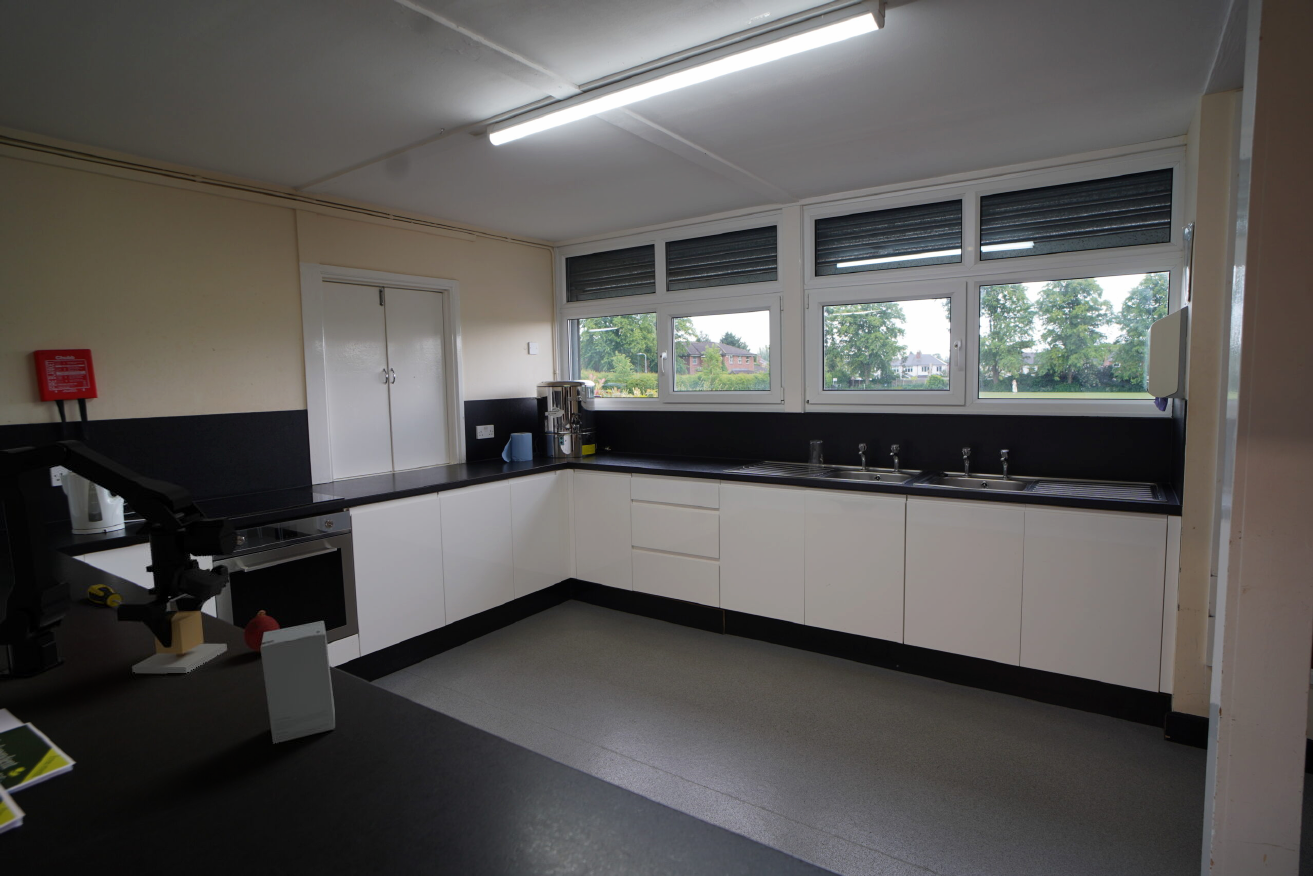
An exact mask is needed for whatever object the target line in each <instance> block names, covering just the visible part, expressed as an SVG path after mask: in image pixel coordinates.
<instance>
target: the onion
mask: <svg viewBox="0 0 1313 876" xmlns="http://www.w3.org/2000/svg"><path fill="white" fill-rule="evenodd" d="M279 629H281V628H280V625H279V623H278V621H277V620H276V619H274V618H273V617H272V616H269V615H266V611H265V610H260V611H258V612H257V614H256V615H255V617H254V618H252V619H251V620H250V621H249V622H248V624H247V625H246V627H245V628H244V633H243V639H244V640H243V641H244V643H245V645H246V646H247V647H248V648H249V649H251V650H253V651H255V652H258V653H261V649H260V647H261V644H262V640H263V634H264V632H268V631H274V630H279Z"/></svg>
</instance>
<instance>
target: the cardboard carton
mask: <svg viewBox="0 0 1313 876" xmlns="http://www.w3.org/2000/svg"><path fill="white" fill-rule="evenodd" d="M176 611H177V613H176V614H175V615H174V616H173V618H172V619H171V625H172V644H171V647H169V648H165V647H164V646H163V645H162V644H161V643H160V641H159V640H158V639H157V638H156V636H155V635H154V643H155V650H156V651H155V652H156V653H155V654H157V653H168V654H183V653H185V652H187V651H189V650H191V649H192V648H194V647H196V646H198V645H200V644H204V643H205V642H204V632H203V621H202V610H201V611H178V610H176Z"/></svg>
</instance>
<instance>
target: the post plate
mask: <svg viewBox="0 0 1313 876" xmlns="http://www.w3.org/2000/svg"><path fill="white" fill-rule="evenodd" d="M227 647H228V646H227V643H202V644H200V645H198V646H196V647H194V648H192V649H191V650H189V651H187V652H185V653H183V654H168V653H155V654H153V655H152V656H150V657H147V658H146V659H144V660H142V661H140V662H138V663H136V664H134V665H132V666H131V668H132V673H133V672H135V673H134V674H167V673H187V672H189V673H190V672H192V671H194V670H195V669H197V668H199V667H201V666H203V665H204V664H206V663H207V662H209V661H211V660H213V659H214V658H216V657H218V656H220V655H221V654H223V653H225V652H226V651H228V648H227ZM217 655H218V656H217ZM205 662H206V663H205ZM203 663H204V664H203ZM200 665H201V666H200ZM198 666H199V667H198ZM196 667H197V668H196ZM193 669H194V670H193ZM191 670H192V671H191ZM187 674H188V673H187Z"/></svg>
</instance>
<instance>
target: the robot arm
mask: <svg viewBox="0 0 1313 876" xmlns="http://www.w3.org/2000/svg"><path fill="white" fill-rule="evenodd" d="M57 467H62V468H64V469H66V470H68V471H69V472H71V473H73V474H75V475H78V476H79V477H81V478H83V479H85V480H87V481H89V482H91V483H92V484H95V485H97V486H99V487H100V488H102V489H105V490H106V491H108V492H110V493H112V494H113V495H116V496H118V497H120V498H121V499H122V500H124V501H125V502H126V504H127V505H128V507H129V508H130V510H131V511H132V512H134V513H135V514H136V515H138V516H139V517H140V518H142V519H143V520H145V521H144V523H143V524H142V525H141V527H140V528H138V529H137V530H136V531H134V535H135V536H148V537H149V538H148V539H149V549H150V559H151V564H149V565H147V566H145V569H146V570H145V571H146V573H152V580H153V587H150V588H148V589H147V590H148V595H149V596H155V597H135V598H133V599H130V600H128V601H125V602H122V603H123V604H121V605H118V607H117V608H116V616H117V617H116V618H117V622H142V623H143V624H144V625H145V626H146V627H147V628H148V629H149V630H150V632H151V633H152V634H153V635H154V637H155V636H156V638H157V639H158V640H159V641H160V643H161V644H162V645H163V646H164V647H165V648H169V647H171V644H172V625H171V619H172V618H173V616H174V615H175V614H176V613H177V611H201V612H202V609H203V606H204V605H205V604H206V603H207V602H208V601H209V600H211V599H213V598H214V597H216V596H221V595H222V591H223V589H224V588H225V587H227V584H228V583H230V579H229V578H230V573H229V569H228V566H226V565H225V564H217V565H216V566H213V567H212V568H211V569H210V568H205V569H202V568H201V567H200V564H199V561H198V559H197V558H196V557H214V556H215V557H216V556H217V557H219V556H230V555H232V554H233V553H234V552H235V551H236V548H237V545H238V538H239V537H238V532H237V531H236V529H235V527H234V525H233V524H232V523H230V519H229V517H228V516H225V517H224V516H223V517H218V518H208V516H207V514H206V513H205V512H204V511H203V510H202V508H200V507H199V506H198V505H197V504H196V503H195V502H194V500H193V499H192V498H191V493H190V492H189V490H188V489H186V488H185V487H183V486H180V485H177V484H174V483H172V482H169V481H165V480H159V479H153V478H150V477H149V478H148V477H147V476H144V475H141V474H139V473H138V472H135V471H133V470H132V469H130V468H128V467H126V466H124V465H122V464H120V463H118V462H116V461H115V460H112V459H111V458H109V457H107V456H105V455H103V454H101V453H99V452H97V451H95V450H93V449H91V448H90V447H88V446H86V444H84V442H82V441H79V440H77V439H75V440H73V439H71V440H61V441H55V442H52V443H51V444H48V445H47V444H46V445H44V446H39V447H38V446H37V447H34V446H24V447H17V448H9V449H1V450H0V500H1V502H2V505H3V511H4V519H5V520H4V521H5V526H6V531H7V539H8V546H9V553H10V558H11V559H10V560H11V567H12V572H13V579H14V582H13V585H12V587H11V590H10V591H9V593H8V596H7V599H6V601H5V618H4V619H3V620H2V621H1V623H0V646H5V653H6V663H7V669H5V670H3V671H1V672H0V677H33V676H36V675H39V674H41V673H43V672H44V671H47V670H49V669H51V668H54V667H56V666H58V665H60V664H63V663H64V662H66V661H67V660H66V657H65V658H64V657H62V658H61V657H60V658H59V653H58V644H57V643H58V642H57V641H56V639H55V632H54V631H52V630H54V629H57V628H60V627H62V626H63V621H64V618H65V616H66V615H67V614H68V613H69V611H70V609H71V607H70V606H71V604H72V603H74V600H73V599H72V597H71V593H70V591H71V590H70V589H71V585H70V582H69V581H65V582H60V581H59V580H58V579H57V578H56V577H55V576H54V575H53V571H52V565H51V558H50V549H49V543H48V537H47V531H46V530H47V529H46V524H45V517H44V510H43V509H44V508H43V501H42V495H43V493H44V491H45V489H46V487H47V485H48V482H49V479H50V470H51V469H53V468H57ZM191 556H193V557H195V558H192V557H191ZM173 602H175V605H176V608H177V610H171V604H172V603H173Z"/></svg>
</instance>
